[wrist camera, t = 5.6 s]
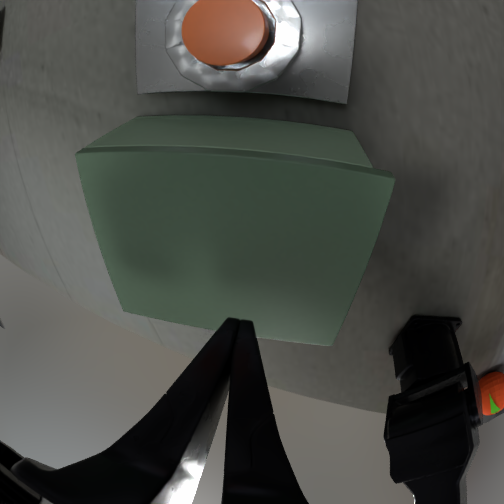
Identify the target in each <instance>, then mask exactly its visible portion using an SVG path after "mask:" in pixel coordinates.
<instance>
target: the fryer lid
mask: <svg viewBox="0 0 504 504" xmlns="http://www.w3.org/2000/svg"><path fill="white" fill-rule="evenodd" d="M75 157H76V162H77V166H78V171H79V175H80V180H81V184H82V188H83V192H84V196H85V200H86V203H87V207H88V211H89V214H90V218H91V221H92V225H93V228H94V231H95V234H96V238H97V241H98V244H99V247H100V250H101V253H102V256H103V259H104V262H105V265H106V267H107V270H108V273H109V276H110V278H111V281H112V284H113V286H114V289H115V291H116V294H117V296H118V299H119V301H120V304H121V306H122V309H123V311H125V312H129V313H133V314H137V315H142V316H146V317H150V318H155V319H159V320H164V321H169V322H174V323H178V324H183V325H188V326H194V327H199V328H204V329H210V330H215V331H217V330H218V328H219V327H220V326H221V325H222V323H223V322H224V321H225V320H226V319H227V318H228V317H232V318H238V319H240V320H241V319H246V320H252V321H253V323H254V328H255V332H256V337H260V338H267V339H274V340H282V341H290V342H299V343H308V344H317V345H328V346H332V345H333V343H334V341H335V339H336V337H337V335H338V333H339V331H340V328H341V326H342V324H343V322H344V320H345V317H346V315H347V313H348V311H349V308H350V306H351V304H352V301H353V299H354V297H355V294H356V292H357V289H358V287H359V285H360V282H361V280H362V277H363V275H364V272H365V269H366V267H367V264H368V262H369V259H370V256H371V254H372V251H373V248H374V245H375V243H376V240H377V237H378V234H379V231H380V228H381V225H382V222H383V219H384V216H385V213H386V210H387V207H388V204H389V201H390V197H391V194H392V191H393V187H394V184H395V178H394V176H393V174H392V173H391V172H389V171H384V170H379V169H374V168H369V167H364V166H359V165H354V164H348V163H342V162H336V161H330V160H324V159H317V158H310V157H303V156H295V155H287V154H279V153H270V152H260V151H249V150H237V149H224V148H207V147H183V146H115V147H92V148H83V149H81V150H80V151H78V152H77V153H76V154H75Z"/></svg>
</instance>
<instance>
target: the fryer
mask: <svg viewBox="0 0 504 504" xmlns="http://www.w3.org/2000/svg"><path fill="white" fill-rule="evenodd" d="M115 146H183V147H207V148H224V149H237V150H249V151H260V152H270V153H279V154H287V155H295V156H303V157H310V158H317V159H324V160H330V161H336V162H342V163H348V164H354V165H359V166H364V167H369V168H373V166H372V165H371V163H370V161H369V159H368V157H367V155H366V154H365V152H364V150H363V148H362V147H361V145H360V143H359V141H358V140H357V138H356V136H355V135H354V133H353V131H349V130H344V129H338V128H332V127H326V126H320V125H313V124H306V123H298V122H290V121H282V120H272V119H261V118H248V117H232V116H207V115H164V116H139V117H136V118H134V119H132V120H130V121H128V122H127V123H125V124H123V125H121V126H119V127H118V128H116V129H114V130H112V131H111V132H109V133H107V134H106V135H104V136H102V137H101V138H99V139H97V140H96V141H94V142H92V143H91V144H89V145H88V146H86V147H85V148H92V147H115Z"/></svg>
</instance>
